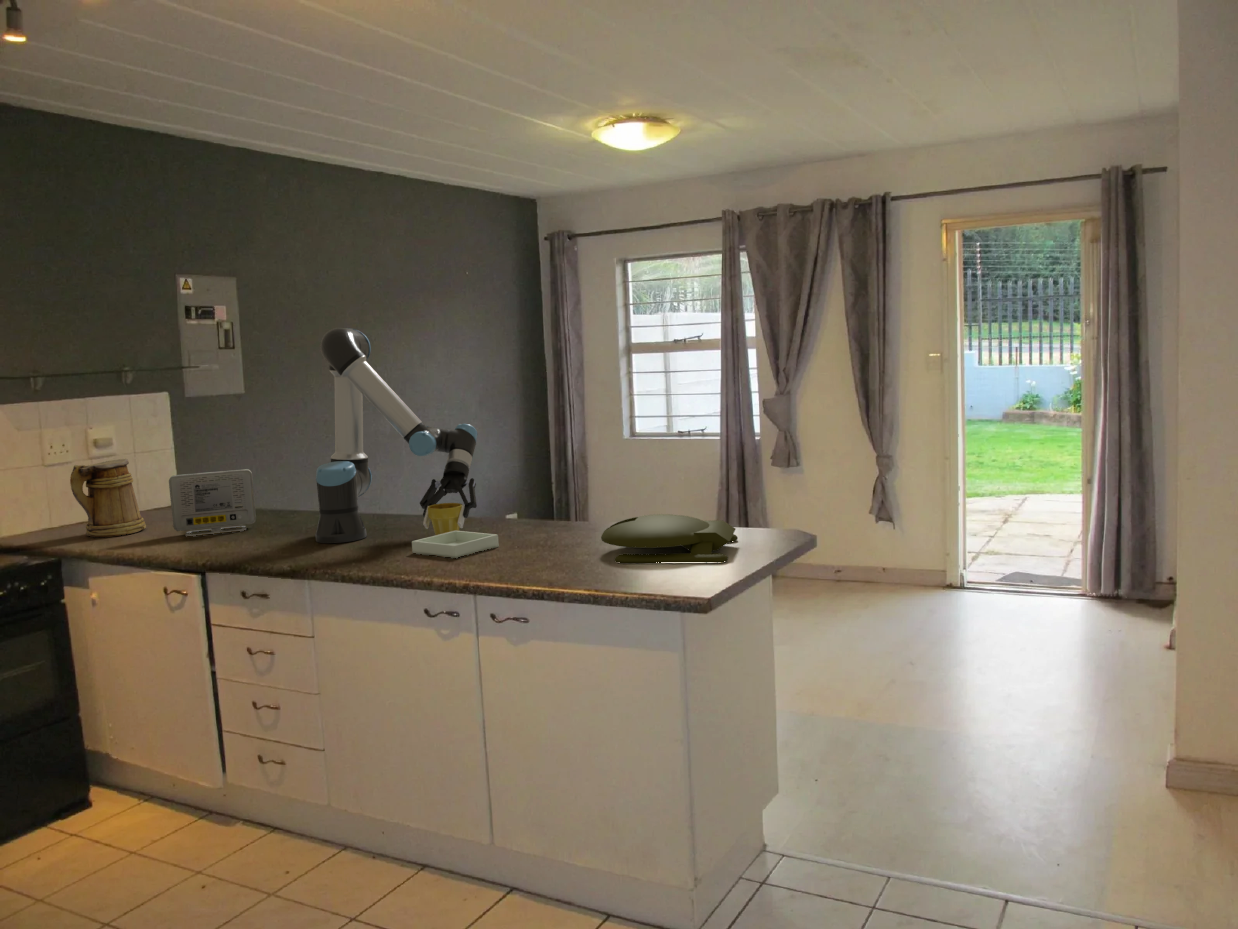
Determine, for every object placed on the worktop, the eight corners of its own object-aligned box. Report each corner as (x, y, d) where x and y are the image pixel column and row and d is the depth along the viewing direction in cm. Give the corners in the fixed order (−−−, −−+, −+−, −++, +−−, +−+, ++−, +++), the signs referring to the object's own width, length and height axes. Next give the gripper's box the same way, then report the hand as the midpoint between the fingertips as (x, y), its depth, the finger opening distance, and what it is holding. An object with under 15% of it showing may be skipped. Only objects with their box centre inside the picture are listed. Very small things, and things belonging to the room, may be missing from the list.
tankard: (157, 528, 344) (150, 457, 341) (98, 542, 323) (89, 466, 320) (121, 527, 352) (113, 457, 349) (60, 540, 331) (51, 466, 328)
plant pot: (457, 540, 294) (455, 508, 293) (424, 541, 296) (422, 508, 295) (469, 533, 304) (467, 502, 303) (437, 534, 306) (435, 502, 305)
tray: (412, 553, 278) (411, 541, 277) (456, 542, 291) (455, 530, 291) (455, 558, 268) (454, 546, 267) (498, 546, 281) (497, 534, 281)
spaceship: (738, 540, 275) (737, 505, 273) (727, 565, 245) (725, 526, 244) (615, 541, 282) (613, 507, 281) (589, 566, 252) (587, 528, 251)
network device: (256, 525, 340) (251, 468, 337) (257, 529, 331) (251, 470, 329) (175, 534, 331) (169, 474, 328) (173, 538, 323) (167, 477, 320)
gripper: (495, 473, 310) (482, 532, 297) (427, 475, 315) (411, 533, 302) (489, 458, 305) (475, 518, 291) (419, 460, 309) (402, 519, 296)
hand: (442, 526), depth 296 cm, fingers closed on plant pot, 10 cm apart
